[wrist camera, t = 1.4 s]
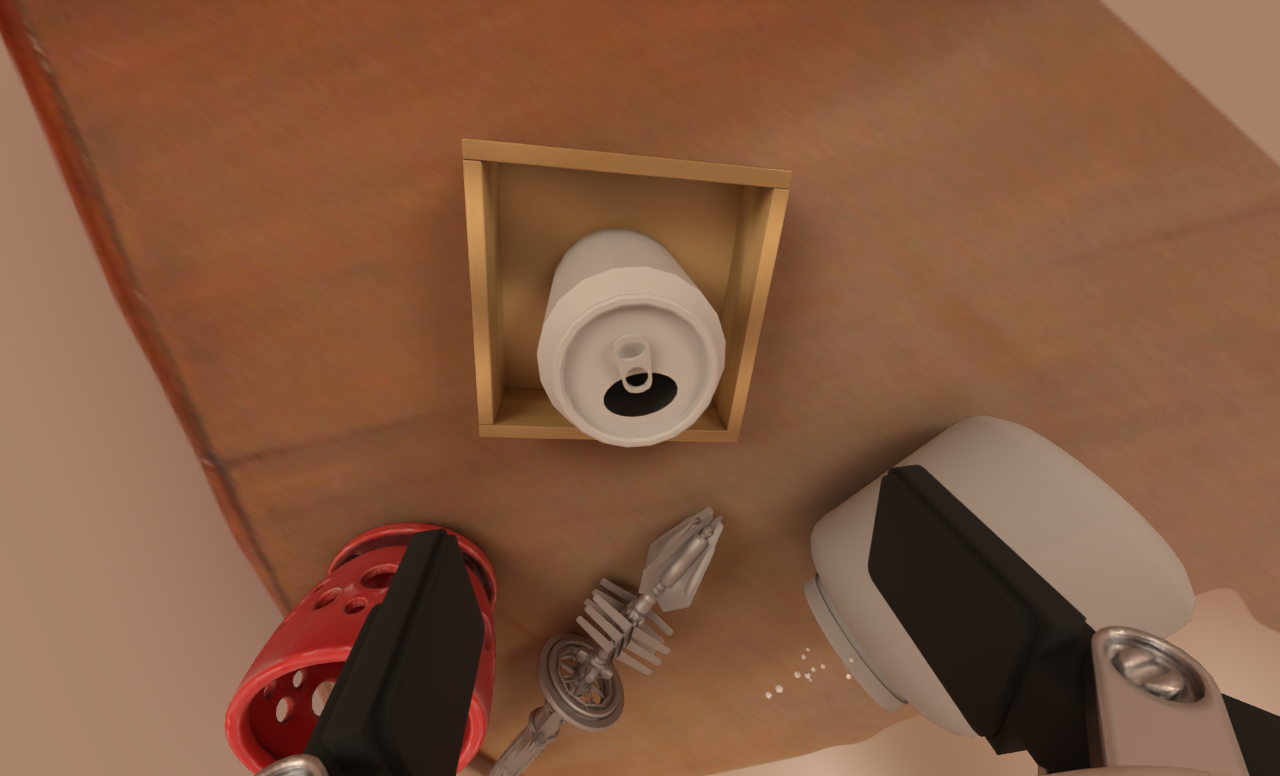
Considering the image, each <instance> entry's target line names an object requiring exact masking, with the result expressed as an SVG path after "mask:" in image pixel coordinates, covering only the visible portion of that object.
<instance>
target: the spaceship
mask: <svg viewBox="0 0 1280 776" xmlns="http://www.w3.org/2000/svg"><path fill="white" fill-rule="evenodd" d="M712 515H713V510H712V509H711V508H710V507H707V508H705V509H704V510H702V511H701V512H699V513H698V514H696V515H695V516H693V517H691V516H690V517H688V518H687V519H686V520H684V521H683V522H681V523H680V524H678V525H677V526H675V527H674V528H672V529H671V530H670V531H668V532H667V533H665V534H664V535H662V536H661V537H659V538H658V539H656V540H655V541H654V542H652V543H651V544H650V548H649V552H648V556H647V560H646V564H645V568H644V571H643V572H642V577H641V581H640V586H639V590H638V593H637V597H636V596H634V595H632V594H631V593H629V592H627V591H625V590H624V589H622V588H620V587H618V586H617V585H615V584H613V583H611V582H610V581H608V580H606V579H604V578H603V579H602V580H601V582H600V584H601V585H602V586H604V587H606V588H607V589H609V590H610V591H612V592H613V593H615V594H616V595H618V596H619V597H621V598H622V599H624V600H625V601H627V602H628V605H627V606H626V605H624V604H622V603H620V602H619V601H617V600H615V599H613V598H612V597H610V596H608V595H606V594H604V593H603V592H601V591H599V590H597V589H594V590H593V592H592V595H594V598H593V600H594V601H595V602H596V603H597V604H596V603H594V602H592V601H591V600H589V599H586V601H585V602H584V603H583V604H584V605H586V608H585V609H584V610H585V611H586V612H587V613H588V614H589V615H590V616H591V617H592V618H593V619H594V620H595V621H596V622H597V623H598V624H599V625H600V626H601V627H602V629H603V630H604V631H605V632H606V633H607V634H606V636H605V637H604V636H603V635H602V634H601V633H599V632H598V631H597V630H596V629H595V628H594V627H593V626H592V625H591V624H589V623H588V622H587V621H586V620H585V619H584V618H583V617H582V616H580V615H579V617H578V618H577V619H576V621H577V622H578V623H579V624H580V625H581V627H582V628H583V629H584V630H585V631H586V632H587V633H588V634H589V635H590V636H591V637H592V638H593V639H594V640H595V641H596V642H597V643H598V644H599V645H596V644H594V643H593V642H591V641H590V640H588V639H586V638H584V637H582V636H579V635H576V634H571V633H563V634H558V635H555V636H553V637H551V638H550V639H548V640H547V641H546V642H545V643H544V644H543V646H542V648H541V650H540V652H539V656H538V663H537V672H538V678H539V682H540V686H541V688H542V691H543V693H544V695H545V701H544V705H543V706H542V707H538V708H536V709H535V710H533V711H532V712H531V714H530V716H529V720H528V725H527V726H526V727H525V728H524V729H523V731H522V732H520V734H519V735H518V736H517V737H516V738H515V739H514V740H513V742H512V743H511V744H510V745H509V746H508V748H507V749H506V750H505V751H504V753H503V754H502V755H501V757H500V758H499V759H498V761H497V762H496V764H495V765H494V767H493V768H492V769H491V770H490V772H489V774H488V775H487V776H520V775H521V774H522V773H523V772H524V771H525V770H526V769H527V767H528V766H529V765H530V764H531V763H532V761H533V760H534V759H536V758H538V756H539V755H538V754H539V753H541V752H543V748H544V747H546V746H548V744H549V743H550V742H553V741H554V740H555V739H556V737H557V735H558V733H559V729H560V725H562V724H565V723H567V722H568V723H569V724H571V725H572V726H574V727H576V728H578V729H581V730H584V731H588V732H600V731H604V730H607V729H609V728H611V727H613V726H614V725H615V724H616V723H617V722H618V720H619V718H620V716H621V714H622V711H623V706H624V690H623V685H622V682H621V679H620V676H619V674H618V672H617V670H616V668H615V666H614V665H613V663H612V661H613V658H616V659H618V660H620V661H621V662H623V663H625V664H627V665H629V666H631V667H632V668H634V669H636V670H638V671H640V672H642V673H643V674H645V675H647V676H649V675H650V674H651V673H652V672H653V671H652V670H651V669H649V668H648V667H646V666H645V665H643V664H641V663H640V662H638V661H637V660H635V659H634V658H632V657H631V656H629V655H627V654H626V653H624V652H623V651H622V649H623V647H624V648H625V649H628V650H629V651H631V652H633V653H635V654H637V655H639V656H640V657H642V658H644V659H646V660H648V661H649V662H651V663H653V664H655V665H657V666H658V665H659V664H660V663H661V662H662V660H661V659H659V658H657V657H656V656H654V654H655V653H656V650H658V651H659V652H661V653H663V654H665V655H668V654H669V652H670V651H671V650H670V649H669V648H667V647H666V646H664V645H663V644H664V642H665V641H664V640H663V639H662V638H661V637H660V636H659V635H658V634H657V633H656V632H655V631H654V630H653V629H652V628H651V627H650V626H649V625H648V624H647V623H646V622H645V620H646V617H647V618H648V619H649V620H651V621H652V622H653V623H654V624H655V625H656V626H658V627H659V628H660V629H661V630H662V631H663V632H665V633H666V634H667V635H668V636H670V635H671V634H672V633H673V630H672V629H671V628H670V627H669V626H668V625H667V624H666V623H665V622H664V621H663V620H662V619H661V618H659V617H658V616H657V615H656V614H655V613H654V612H653V611H652V610H651V609H650V608H651V607H652V606H653V605H654V604H656V602H658V604H659V606H660V607H661V609H662V611H663V612H667V611H672V610H677V609H682V608H687V607H690V605H691V603H692V601H693V599H694V596H695V594H696V592H697V590H698V588H699V585H700V583H701V581H702V579H703V577H704V574H705V572H706V570H707V568H708V566H709V564H710V561H711V559H712V557H713V555H714V553H715V546H716V543H717V541H718V539H719V537H720V534H721V532H722V530H723V524H722V523H721V521H722V519H723V516H718V517H717V518H715V519H714V520H712V519H713V516H712ZM616 610H617V611H616ZM618 611H619V612H620V613H621V614H620V613H619V612H618ZM602 616H603V617H604V618H606V619H607V620H609V621H610V622H612V625H611V624H610V623H609V622H608V621H607V620H606V619H604V618H603V617H602ZM639 628H640V629H641V630H642V631H641V630H640V629H639ZM644 632H645V633H644ZM631 638H632V639H633V640H634V641H635V642H636V643H637V644H639V645H640V646H641V647H640V646H639V645H637V644H636V643H634V642H633V641H631ZM655 649H656V650H655ZM548 659H549V661H548ZM562 659H570V661H571V663H572V659H573V660H574V661H575V660H576V661H577V664H578V666H577V664H576V666H575V667H574V665H573V664H572V666H573V667H571V666H570V665H568V664H567V663H565V662H563V661H561V660H562ZM576 661H575V663H576ZM578 661H579V662H581V663H582V664H581V665H579V663H578ZM547 665H548V668H547ZM560 666H561V667H563V668H564V669H565V670H566V671H568V672H569V673H570V674H571V675H567V676H562V675H561V673H560ZM568 676H569V678H568V679H567V680H565V679H564V678H565V677H568ZM563 677H564V678H563ZM560 679H561V680H562V681H561V680H560ZM595 679H596V680H597V682H598V684H599V687H600V689H599V688H598V687H597V686H596V685H595V684H594V682H593V681H594V680H595ZM564 680H565V681H564ZM589 688H590V690H592V691H594V692H595V693H596V694H598V695H599V696H600V697H601V699H600V703H599V704H595V703H594V700H593V698H592V695H591V693H590V690H589ZM585 691H587V694H588V696H589V694H590V696H591V698H592V701H593V703H594V704H593V703H592V701H591V699H590V697H589V699H590V701H591V703H588V701H587V700H586V702H587V703H584V702H583V701H582V700H581V698H582V696H583V694H584V692H585ZM588 691H589V692H588ZM584 697H585V699H586V695H584ZM580 702H581V703H582V704H581V703H580ZM592 706H594V707H592ZM603 717H604V718H603ZM588 718H591V719H588ZM595 719H596V720H595Z"/></svg>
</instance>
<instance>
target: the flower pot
mask: <svg viewBox="0 0 1280 776" xmlns="http://www.w3.org/2000/svg"><path fill="white" fill-rule="evenodd" d="M435 529H445V530H446V531H447V534H448V535H451V534H454V535H455V536H456V538H457V540H458V544H459V547H460V550H461V553H462V556H463V559H464V562H465V565H466V568H467V571H468V574H469V577H470V580H471V583H472V586H473V589H474V592H475V595H476V598H477V601H478V604H479V607H480V610H481V613H482V617H483V620H484V626H485V636H484V642H483V647H482V651H481V656H480V661H479V666H478V671H477V676H476V681H475V685H474V690H473V695H472V700H471V705H470V710H469V714H468V719H467V724H466V729H465V734H464V739H463V744H462V748H461V753H460V758H459V763H458V768H457V773H458V772H460V771H461V770H462V769H463V768H464V767H465V766H466V765H467V764H468V763H469V762H470V761H471V760H472V759H473V758H474V756H475V755H476V753H477V752H478V750H479V749H480V747H481V745H482V743H483V741H484V739H485V735H486V732H487V729H488V724H489V718H490V711H491V704H492V696H493V687H494V677H495V665H496V639H495V627H494V619H493V615H492V610H493V608H494V605H495V602H496V599H497V579H496V575H495V572H494V569H493V567H492V565H491V563H490V562H489V560H488V558H487V557H486V556H485V554H484V553H483V552H482V551H481V550H480V549H479V548H478V547H477V546H476V545H475V544H474V543H472V542H471V541H470V540H468V539H467V538H465V537H464V536H462V535H460V534H458V533H456V532H454V531H452V530H449V529H447V528H444V527H440V526H437V525H433V524H427V523H416V522H405V523H394V524H389V525H384V526H380V527H377V528H374V529H371V530H369V531H367V532H364V533H362V534H361V535H359V536H357V537H356V538H354V539H353V540H351V541H350V542H349V543H348V544H346V545H345V546H344V547H343V548H342V549H341V550H340V552H339V553H338V554H337V555H336V557H335V558H334V559H333V561H332V563H331V565H330V567H329V569H328V573H327V577H326V578H324V579H323V580H322V581H321V582H320V583H318V584H317V585H316V586H315V587H314V588H313V589H312V590H311V591H310V592H309V593H308V594H307V595H306V596H305V597H304V598H303V599H302V600H301V601H300V602H299V603H298V604H297V606H296V607H295V608H294V609H293V610H292V611H291V612H290V613H289V614H288V616H287V617H286V618H285V619H284V620H283V622H282V623H281V624H280V625H279V627H278V628H277V629H276V631H275V632H274V633H273V635H272V636H271V638H270V639H269V640H268V642H267V643H266V645H265V646H264V648H263V649H262V650H261V652H260V653H259V655H258V656H257V658H256V659H255V661H254V662H253V664H252V665H251V667H250V669H249V670H248V672H247V674H246V675H245V677H244V678H243V680H242V682H241V683H240V685H239V687H238V688H237V690H236V692H235V694H234V696H233V697H232V699H231V701H230V703H229V706H228V709H227V712H226V720H225V731H226V737H227V740H228V742H229V745H230V747H231V749H232V750H233V752H234V753H235V755H236V756H237V758H238V759H239V760H240V761H241V762H242V763H243V764H244V765H245V766H246V767H247V768H248V769H249V770H250V771H251V772H252V773H253V774H257V773H258V772H259V771H261V770H262V769H264V768H266V767H267V766H269V765H271V764H272V763H274V762H276V761H278V760H281V759H283V758H286V757H289V756H292V755H300V754H303V752H304V749H305V747H306V745H307V743H308V741H309V739H310V737H311V735H312V732H313V730H314V728H315V726H316V724H317V722H318V720H319V717H320V716H318V715H316V714H315V713H314V711H313V709H312V695H313V693H314V691H315V690H316V688H317V687H318V686H319V685H320V684H321V683H322V682H324V681H329V682H334V683H336V681H337V679H338V677H339V675H340V673H341V671H342V668H343V666H344V664H345V662H346V660H347V658H348V656H349V654H350V651H351V649H352V647H353V645H354V643H355V641H356V639H357V637H358V634H359V632H360V630H361V628H362V626H363V624H364V622H365V619H366V617H367V615H368V614H369V612H370V610H371V609H372V608H373V607H374V606H375V605H376V604H379V603H382V602H383V600H384V597H385V595H386V593H387V591H388V588H389V586H390V584H391V582H392V580H393V577H394V575H395V573H396V571H397V568H398V566H399V564H400V562H401V560H402V557H403V555H404V553H405V551H406V548H407V546H408V544H409V542H410V540H411V537H412V536H413V534H414V533H416V532H421V531H428V530H435ZM299 670H300V671H301V673H302V680H301V683H300V685H299V686H298V687H297V688H296V687H294V685H293V677H294V675H295V674H296V673H297V671H299ZM266 685H267V687H266ZM265 687H266V690H265ZM264 690H265V692H264ZM282 698H284V699H285V700H286V702H287V705H288V709H287V714H286V716H285V718H284V720H283V721H282V722H279V721H278V720H277V717H276V707H277V705H278V703H279V701H280V700H281V699H282ZM457 773H456V774H457Z"/></svg>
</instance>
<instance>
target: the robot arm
mask: <svg viewBox="0 0 1280 776" xmlns="http://www.w3.org/2000/svg"><path fill="white" fill-rule="evenodd" d="M868 571H869V575H870V577H871V580H872V581H873V583H874V584H875V586H876V587H877V589H878V590H879V592H880V593H881V595H882V596H883V598H884V599H885V601H886V602H887V604H888V605H889V607H890V608H891V610H892V611H893V613H894V614H895V616H896V617H897V619H898V620H899V622H900V623H901V624H902V626H903V627H904V629H905V630H906V632H907V633H908V635H909V636H910V638H911V639H912V641H913V642H914V644H915V645H916V647H917V648H918V650H919V651H920V653H921V654H922V656H923V657H924V659H925V660H926V662H927V663H928V665H929V666H930V668H931V669H932V670H933V672H934V673H935V675H936V676H937V678H938V679H939V681H940V682H941V684H942V685H943V687H944V688H945V690H946V691H947V693H948V694H949V696H950V697H951V699H952V700H953V702H954V703H955V705H956V706H957V708H958V709H959V711H960V712H961V714H962V715H963V717H964V718H965V719H966V721H967V722H968V724H969V725H970V727H971V728H972V729H973V731H974V732H975V733H977V734H978V735H979V736H981V737H982V736H985V737H986V739H987V740H988V742H989V743H990V745H991V746H992V747H993V749H994V750H995V752H996V753H997V755H1001V754H1006V753H1013V752H1018V751H1024V750H1027V751H1028V752H1029V754H1030V755H1031V756H1032V757H1033V759H1034V760H1035V762H1036V763H1037V764H1038V776H1280V716H1277V715H1274V714H1272V713H1269V712H1267V711H1265V710H1262V709H1260V708H1257V707H1255V706H1252V705H1250V704H1247V703H1245V702H1242V701H1240V700H1237V699H1235V698H1232V697H1229V696H1227V695H1225V694H1222V693H1221V692H1220V690H1219V688H1218V686H1217V684H1216V682H1215V681H1214V679H1213V677H1212V676H1211V675H1210V674H1209V673H1208V672H1207V670H1205V668H1203V666H1202V665H1201V664H1200V663H1199V662H1198V661H1196V660H1195V659H1194V658H1192V657H1191V656H1190V655H1189V654H1187V653H1186V652H1185V651H1183V650H1182V649H1180V648H1178V647H1177V646H1175V645H1173V644H1171V643H1169V642H1168V641H1166V640H1164V639H1162V638H1160V637H1157V636H1155V635H1153V634H1150V633H1148V632H1145V631H1142V630H1138V629H1134V628H1130V627H1123V626H1109V627H1105V628H1101V629H1099V630H1098V631H1097V632H1096V631H1095V630H1094V629H1093V628H1092V627H1091V626H1090V625H1089V624H1087V623H1086V622H1085V621H1086V619H1087V618H1086V617H1085V616H1084V615H1083V614H1082V613H1081V612H1079V611H1078V610H1077V609H1076V608H1075V607H1074V606H1073V605H1072V604H1071V603H1070V602H1069V601H1068V600H1067V599H1065V598H1064V597H1063V596H1062V595H1061V594H1060V593H1059V592H1058V591H1057V590H1056V589H1055V588H1054V587H1052V586H1051V585H1050V584H1049V583H1048V582H1047V581H1046V580H1045V579H1044V578H1043V577H1042V576H1041V575H1039V574H1038V573H1037V572H1036V571H1035V570H1034V569H1033V568H1032V567H1031V566H1030V565H1029V564H1028V563H1027V562H1025V561H1024V560H1023V559H1022V558H1021V557H1020V556H1019V555H1018V554H1017V553H1016V552H1015V551H1014V550H1012V549H1011V548H1010V547H1009V546H1008V545H1007V544H1006V543H1005V542H1004V541H1003V540H1002V539H1001V538H999V537H998V536H997V535H996V534H995V533H994V532H993V531H992V530H991V529H990V528H989V527H988V526H986V525H985V524H984V523H983V522H982V521H981V520H980V519H979V518H978V517H977V516H976V515H975V514H974V513H972V512H971V511H970V510H969V509H968V508H967V507H966V506H965V505H964V504H963V503H962V502H961V501H959V500H958V499H957V498H956V497H955V496H954V495H953V494H952V493H951V492H950V491H949V490H948V489H946V488H945V487H944V486H943V485H942V484H941V483H940V482H939V481H938V480H937V479H936V478H935V477H933V476H932V475H931V474H930V473H929V472H928V471H927V470H926V469H925V468H924V467H922V466H921V465H917V464H915V465H908V466H901V467H893V468H891V469H890V470H889V471H888V474H887V475H885V476H883V477H882V479H881V484H880V490H879V497H878V503H877V509H876V515H875V521H874V528H873V534H872V540H871V546H870V552H869V559H868ZM484 636H485V626H484V620H483V617H482V613H481V610H480V607H479V604H478V601H477V598H476V595H475V592H474V589H473V586H472V583H471V580H470V577H469V574H468V571H467V568H466V565H465V562H464V559H463V556H462V553H461V550H460V547H459V544H458V540H457V538H456V536H455V535H454V534H451V535H448V534H447V531H446V530H445V529H435V530H428V531H421V532H416V533H414V534H413V536H412V537H411V540H410V542H409V544H408V546H407V548H406V551H405V553H404V555H403V557H402V560H401V562H400V564H399V566H398V568H397V571H396V573H395V575H394V577H393V580H392V582H391V584H390V586H389V588H388V591H387V593H386V595H385V597H384V600H383V602H382V603H379V604H376V605H375V606H374V607H373V608H372V609H371V610H370V612H369V614H368V615H367V617H366V619H365V622H364V624H363V626H362V628H361V630H360V632H359V634H358V637H357V639H356V641H355V643H354V645H353V647H352V649H351V651H350V654H349V656H348V658H347V660H346V662H345V664H344V666H343V668H342V671H341V673H340V675H339V677H338V679H337V681H336V683H335V686H334V688H333V690H332V692H331V694H330V696H329V698H328V700H327V703H326V705H325V707H324V709H323V711H322V713H321V716H320V717H319V720H318V722H317V724H316V726H315V728H314V730H313V732H312V735H311V737H310V739H309V741H308V743H307V745H306V747H305V749H304V752H303V754H300V755H292V756H289V757H286V758H283V759H281V760H278V761H276V762H274V763H272V764H271V765H269V766H267V767H266V768H264V769H262V770H261V771H259V772H258V773H257V774H255V776H456V773H457V768H458V763H459V758H460V753H461V748H462V744H463V739H464V734H465V729H466V724H467V719H468V714H469V710H470V705H471V700H472V695H473V690H474V685H475V681H476V676H477V671H478V666H479V661H480V656H481V651H482V647H483V642H484Z"/></svg>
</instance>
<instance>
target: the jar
mask: <svg viewBox="0 0 1280 776" xmlns="http://www.w3.org/2000/svg"><path fill="white" fill-rule="evenodd" d="M915 464H917V465H921V466H922V467H924V468H925V469H926V470H927V471H928V472H929V473H930V474H931V475H932V476H933V477H935V478H936V479H937V480H938V481H939V482H940V483H941V484H942V485H943V486H944V487H945V488H946V489H948V490H949V491H950V492H951V493H952V494H953V495H954V496H955V497H956V498H957V499H958V500H959V501H961V502H962V503H963V504H964V505H965V506H966V507H967V508H968V509H969V510H970V511H971V512H972V513H974V514H975V515H976V516H977V517H978V518H979V519H980V520H981V521H982V522H983V523H984V524H985V525H986V526H988V527H989V528H990V529H991V530H992V531H993V532H994V533H995V534H996V535H997V536H998V537H999V538H1001V539H1002V540H1003V541H1004V542H1005V543H1006V544H1007V545H1008V546H1009V547H1010V548H1011V549H1012V550H1014V551H1015V552H1016V553H1017V554H1018V555H1019V556H1020V557H1021V558H1022V559H1023V560H1024V561H1025V562H1027V563H1028V564H1029V565H1030V566H1031V567H1032V568H1033V569H1034V570H1035V571H1036V572H1037V573H1038V574H1039V575H1041V576H1042V577H1043V578H1044V579H1045V580H1046V581H1047V582H1048V583H1049V584H1050V585H1051V586H1052V587H1054V588H1055V589H1056V590H1057V591H1058V592H1059V593H1060V594H1061V595H1062V596H1063V597H1064V598H1065V599H1067V600H1068V601H1069V602H1070V603H1071V604H1072V605H1073V606H1074V607H1075V608H1076V609H1077V610H1078V611H1079V612H1081V613H1082V614H1083V615H1084V616H1085V617H1086V618H1087V619H1086V621H1085V622H1086V623H1087V624H1089V625H1090V626H1091V627H1092V628H1093V629H1094V630H1095V631H1096V632H1097V631H1098V630H1099V629H1101V628H1105V627H1109V626H1123V627H1130V628H1134V629H1138V630H1142V631H1145V632H1148V633H1150V634H1153V635H1155V636H1157V637H1160V638H1162V639H1165V638H1167V637H1168V636H1170V635H1172V634H1174V633H1176V632H1177V631H1179V630H1180V629H1181V628H1183V627H1184V626H1185V625H1187V624H1188V623H1189V622H1191V621H1192V617H1193V612H1194V607H1195V601H1196V598H1195V595H1194V592H1193V589H1192V587H1191V584H1190V581H1189V578H1188V575H1187V573H1186V571H1185V568H1184V566H1183V564H1182V563H1181V561H1180V560H1179V558H1178V557H1177V556H1176V554H1175V553H1174V551H1173V550H1172V549H1171V548H1170V546H1169V545H1168V544H1167V543H1166V542H1165V540H1164V539H1163V538H1162V537H1161V536H1160V534H1159V533H1158V532H1157V531H1156V530H1155V529H1154V528H1153V527H1152V526H1151V525H1150V524H1149V523H1148V522H1147V521H1146V520H1145V519H1144V518H1143V517H1142V516H1141V515H1140V514H1139V513H1138V512H1137V511H1136V510H1135V509H1134V508H1133V507H1132V506H1131V505H1130V504H1129V503H1128V502H1127V501H1125V500H1124V499H1123V498H1122V497H1121V496H1120V495H1119V494H1118V493H1117V492H1115V491H1114V490H1113V489H1112V488H1111V487H1110V486H1108V485H1107V484H1106V483H1105V482H1104V481H1103V480H1102V479H1100V478H1099V477H1098V476H1097V475H1095V474H1094V473H1093V472H1092V471H1090V470H1089V469H1088V468H1087V467H1085V466H1084V465H1083V464H1082V463H1080V462H1079V461H1078V460H1076V459H1075V458H1074V457H1072V456H1071V455H1069V454H1068V453H1067V452H1065V451H1064V450H1062V449H1061V448H1060V447H1058V446H1057V445H1055V444H1054V443H1052V442H1050V441H1049V440H1047V439H1046V438H1044V437H1043V436H1041V435H1039V434H1038V433H1036V432H1034V431H1032V430H1030V429H1029V428H1027V427H1025V426H1022V425H1020V424H1018V423H1015V422H1012V421H1008V420H1004V419H1000V418H996V417H991V416H987V415H981V416H970V417H966V418H964V419H962V420H960V421H958V422H957V423H955V424H953V425H952V426H950V427H949V428H947V429H946V430H944V431H943V432H942V433H940V434H939V435H937V436H936V437H935V438H933V439H932V440H930V441H929V442H928V443H926V444H925V445H923V446H922V447H920V448H919V449H918V450H916V451H915V452H913V453H912V454H911V455H909V456H908V457H906V458H905V459H904V460H902V461H901V462H899V463H898V464H896V465H895V466H894V467H901V466H908V465H915ZM892 468H893V467H892ZM889 470H890V469H889ZM889 470H888V471H889ZM888 471H887V472H885V473H884V474H882V475H881V476H880V477H878V478H877V479H875V480H874V481H872V482H871V483H870V484H868V485H867V486H865V487H864V488H863V489H861V490H860V491H858V492H857V493H855V494H854V495H853V496H851V497H850V498H848V499H847V500H846V501H844V502H843V503H841V504H840V505H839V506H837V507H836V508H834V509H833V510H831V511H830V512H829V513H827V514H826V515H824V516H823V517H822V518H821V519H820V520H819V521H818V522H817V523H816V524H814V528H813V531H812V534H811V537H810V543H811V554H812V559H813V563H814V565H815V568H816V570H817V572H818V573H817V574H815V575H814V576H812V577H811V578H809V579H808V580H806V581H805V582H804V584H803V589H804V593H805V596H806V599H807V602H808V604H809V606H810V609H811V611H812V613H813V615H814V616H815V618H816V620H817V622H818V624H819V626H820V627H821V629H822V631H823V633H824V634H825V636H826V638H827V639H828V641H829V642H830V644H831V646H832V647H833V649H834V650H835V652H836V653H837V654H838V656H839V657H840V659H841V660H842V662H843V663H844V665H845V666H846V667H847V669H848V670H849V671H850V673H851V674H852V675H853V677H854V678H855V679H856V680H857V681H858V683H859V684H860V685H861V686H862V688H863V689H864V690H865V691H866V692H867V693H868V694H869V695H870V697H871V698H872V699H873V700H874V701H875V702H877V703H878V704H879V705H880V706H881V707H882V708H884V709H885V710H886V711H888V712H891V713H892V712H894V711H896V710H897V709H899V708H901V707H903V706H904V705H906V704H908V702H909V703H910V704H911V705H912V706H913V707H914V708H915V709H916V710H917V711H918V712H919V713H920V714H921V715H923V716H924V717H925V718H926V719H928V720H929V721H931V722H933V723H934V724H936V725H938V726H939V727H941V728H943V729H945V730H946V731H948V732H950V733H953V734H955V735H960V736H965V737H970V738H973V737H976V736H979V735H978V734H977V733H975V732H974V731H973V729H972V728H971V727H970V725H969V724H968V722H967V721H966V719H965V718H964V717H963V715H962V714H961V712H960V711H959V709H958V708H957V706H956V705H955V703H954V702H953V700H952V699H951V697H950V696H949V694H948V693H947V691H946V690H945V688H944V687H943V685H942V684H941V682H940V681H939V679H938V678H937V676H936V675H935V673H934V672H933V670H932V669H931V668H930V666H929V665H928V663H927V662H926V660H925V659H924V657H923V656H922V654H921V653H920V651H919V650H918V648H917V647H916V645H915V644H914V642H913V641H912V639H911V638H910V636H909V635H908V633H907V632H906V630H905V629H904V627H903V626H902V624H901V623H900V622H899V620H898V619H897V617H896V616H895V614H894V613H893V611H892V610H891V608H890V607H889V605H888V604H887V602H886V601H885V599H884V598H883V596H882V595H881V593H880V592H879V590H878V589H877V587H876V586H875V584H874V583H873V581H872V580H871V577H870V575H869V571H868V559H869V552H870V546H871V540H872V534H873V528H874V521H875V515H876V509H877V503H878V497H879V490H880V484H881V479H882V477H883V476H885V475H887V474H888ZM806 650H807V651H808V652H809V651H810V648H808V647H807V648H806ZM801 657H802V658H803V659H806V655H805V654H802V656H801ZM821 667H822V668H823V669H825V667H826V666H825V664H821ZM811 670H812V671H813V672H814V671H816V669H815V667H812V668H811ZM794 675H795V677H796V678H800V676H801V673H800V672H799V671H795V673H794ZM805 677H806V678H807V679H809V681H810V682H812V680H813V679H812V678H811V675H810V673H808V672H806V673H805ZM846 678H847V679H850V678H851V676H850V674H846ZM776 691H777V692H778V693H782V692H783V687H782V685H780V684H778V685H776ZM771 696H772V695H771V693H770V692H769V691H768V692H766V697H767V698H771Z"/></svg>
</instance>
